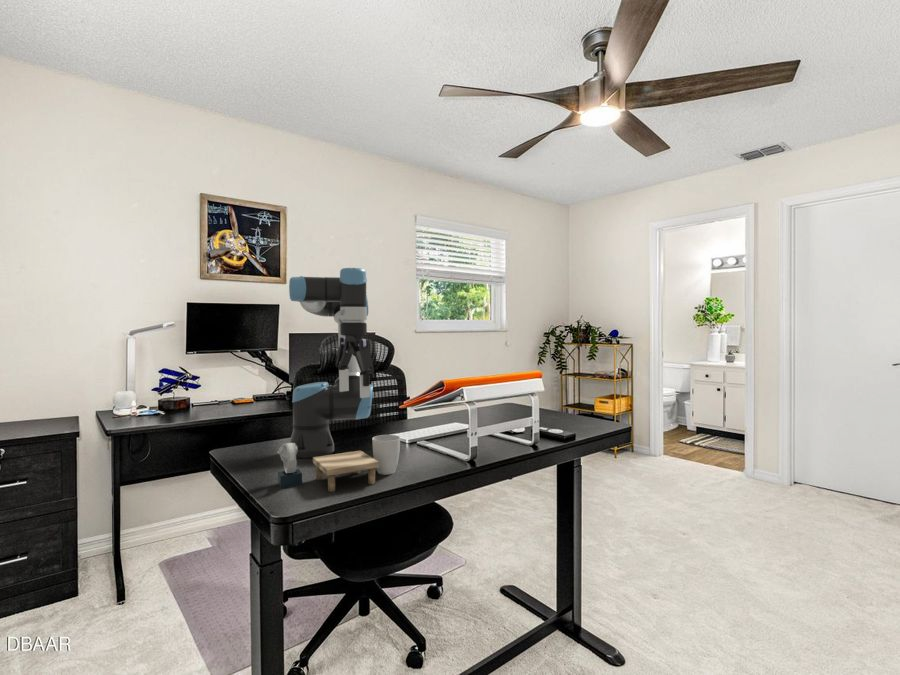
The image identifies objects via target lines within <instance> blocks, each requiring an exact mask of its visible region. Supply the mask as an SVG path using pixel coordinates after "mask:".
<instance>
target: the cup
mask: <svg viewBox="0 0 900 675" xmlns="http://www.w3.org/2000/svg"><path fill="white" fill-rule="evenodd" d="M371 439H372V441H371V442H372V454H373V458H374V459H375V460H377V461H378V462H379V467H378V468H375V470H376V472H377V473H378V474H379V475H387V476H388V475H393V474H395V473H396V470H397V467H398V463H399V457H400V452H401V451H400V448H401V447H400V446H401V436H400V435H396V434H380V435H376V436H373V437H372V438H371Z"/></svg>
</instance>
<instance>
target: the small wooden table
mask: <svg viewBox="0 0 900 675" xmlns="http://www.w3.org/2000/svg"><path fill="white" fill-rule="evenodd" d="M312 463H313V464H314V465H315V466H316V469H315V471H316V478H315V479H316V480H317V481H323V480H324V474H325V475H326V476H327V492H330V493H333V492H335V491H336V475H340V474H346V473H353V472H354V474H355V475H359V474H362V471H366V470H367V472H368V474H367V477H368V483H367V484H368V485H375V484H376V468H378V467H379V462H378V461H377V460H375V459H374V457H372V456H371V455H369V454H367V453H365V452H364V451H362V450H356V451H355V450H354V451H347V452H342V453H335V454H333V453H332V454H328V455H324V456H318V457H312Z"/></svg>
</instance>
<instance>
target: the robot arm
mask: <svg viewBox="0 0 900 675" xmlns="http://www.w3.org/2000/svg"><path fill="white" fill-rule="evenodd" d="M367 280H368V279H367V272H366V270H365V269H364V268H361V267H343V268H341V269H340V271H339V277H335V276H333V277H331V276H330V277H329V276H328V277H326V276H325V277H323V276H322V277H321V276H320V277H319V276H302V275H300V276H291V277H290V278H289V282H288V283H289V286H288V289H289V290H288V294H289V299H290V302H291V301H292V302H299V303H300V305H301V307H302V308H303V309H304V310H305V311H306V312H308V313H310V314H313V315H315V316H320V317H333V319H334V322H335V323H336V324H337V326H338V327H337V329H338V330H337V331H338V337H337V338H338V339H337V340H338V351H337V354H336V355H337V356H336V360H335V367H336V368H337V369H338V378H337V379H335V381H334V385H330V384H329V382H328V381H317V382H312V383H311V382H310V383H306V384H302V385H298V386H296V387H295V388H294V389H293V392H292V399H291V400H292V401H291V403H292V433H291V436H290V439H289V442H288V443H295V444H296V446H297V450H298V451H297V454H296V455H295V456H296V458H300V459H301V458H302V459H307V458H313V457H318V456H325V455H331V454H333V452H334V451H335V443H334V439H333V437H332V435H331V431H330V425H329V422H330V421H345V420H346V421H347V420H350V421H351V420H355V421H356V420H361V419H362V420H363V419H367V418H369V417H370V416H371V412H372V403H373V402H372V401H373V393H374V388H373V387H374V386H373V384H371V381H370V380H371V374H372V373H375V368H374V367H375V366H374V362H373V359H372V358H373V357H372V355H371V354H372V353H371V350H370V346H369V339H368V338H363V336H366V335H367V334H368V331H367V328H368V327H367V323H366V322H365V321H367V319H368V318H367V317H368V316H369V304H368V303H369V301H368V295H367V282H368V281H367Z"/></svg>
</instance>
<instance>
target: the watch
mask: <svg viewBox="0 0 900 675" xmlns="http://www.w3.org/2000/svg"><path fill="white" fill-rule="evenodd" d="M297 451H298V450H297V446H296V444H295V443H289V442H287V443H283V444H282V445H281V446H280V447H279V448H278V450H277V454H279V457H280V459H281V461H282V462H283V469H284V470H282V471H281V470H280V471H278V472H277V483H278V486H279V488H280V489H284V488H290V487H296V486H302V485H303V472H302V471H301V470H300V469H299V468H297V463H298V462H297V457H296V456H295V455H296V454H297Z"/></svg>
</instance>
